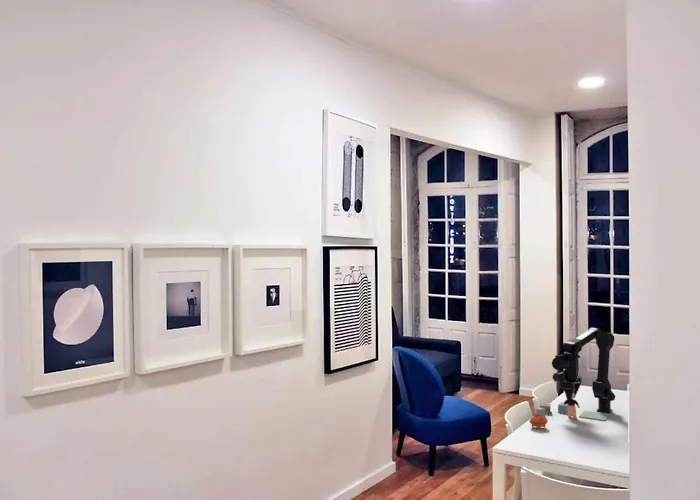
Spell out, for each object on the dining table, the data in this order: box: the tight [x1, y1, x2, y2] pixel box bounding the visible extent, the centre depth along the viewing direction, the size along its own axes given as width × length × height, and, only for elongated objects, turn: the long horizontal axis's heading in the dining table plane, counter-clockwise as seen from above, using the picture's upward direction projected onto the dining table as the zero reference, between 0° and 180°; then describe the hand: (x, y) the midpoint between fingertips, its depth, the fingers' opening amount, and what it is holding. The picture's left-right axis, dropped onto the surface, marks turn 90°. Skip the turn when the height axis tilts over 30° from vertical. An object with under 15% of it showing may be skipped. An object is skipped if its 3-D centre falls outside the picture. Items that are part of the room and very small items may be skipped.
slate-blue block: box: [557, 401, 568, 414], centre depth 312 cm, size 6×4×4 cm, turn 147°
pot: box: [529, 413, 548, 431], centre depth 283 cm, size 8×8×7 cm
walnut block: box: [539, 403, 551, 414], centre depth 310 cm, size 5×5×4 cm
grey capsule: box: [535, 407, 546, 418], centre depth 302 cm, size 4×4×4 cm
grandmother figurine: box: [563, 393, 581, 420], centre depth 300 cm, size 8×4×13 cm, turn 84°
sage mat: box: [578, 410, 611, 422], centre depth 303 cm, size 12×12×1 cm
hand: (571, 399), depth 300 cm, fingers open, 9 cm apart
